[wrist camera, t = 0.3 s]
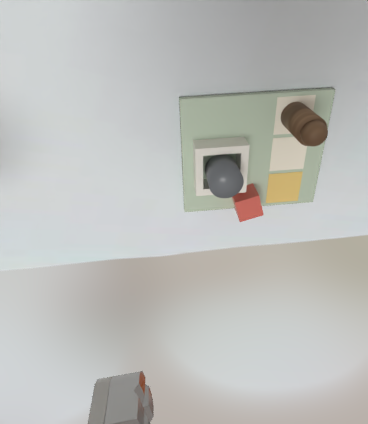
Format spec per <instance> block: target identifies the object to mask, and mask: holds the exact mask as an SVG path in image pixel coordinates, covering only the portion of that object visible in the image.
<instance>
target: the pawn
mask: <svg viewBox="0 0 368 424" xmlns="http://www.w3.org/2000/svg"><path fill="white" fill-rule="evenodd" d="M281 122H282V124H283V125H284V127H285V128H286V129H287V130H288V131H289V132H290V133H291V134H292V135H293V136H294V137H295V138H296V139H297V140H298V141H299V142H300V143H301V144H302V145H304V146H318V145H320V144H322V143H323V142H324V141H325V140H326V138H327V134H328V130H327V124H326V122H325V120H324V119H322V118H321V117H320V116H319V115H317V114H316V113H315V112H313V111H312V110H311V109H310V108H308V107H307V106H306V105H305V104H303V103H301V102H292V103H290V104H288V105H287V106H286V107H285V108H284V109H283V111H282V113H281Z"/></svg>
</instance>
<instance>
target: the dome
mask: <svg viewBox="0 0 368 424" xmlns="http://www.w3.org/2000/svg"><path fill="white" fill-rule="evenodd" d="M205 175H206V178H207V182H208V185H209V188H210V191H211V192H212V194H213V195H215V196H216V197H219V198H230V197H233V196H235V195H236V194H238V193H239V192H240V190H241V189H242V187H243V183H244V179H243V176H242V174H241V172H240V170H239V168H238V165H237V163H236V161H235V160H234V159H233V158H232V157H231V156H229V155H226V154H222V155H215V156H213V157H212V158H210V159H209V160H208V162H207V163H206V166H205Z"/></svg>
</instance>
